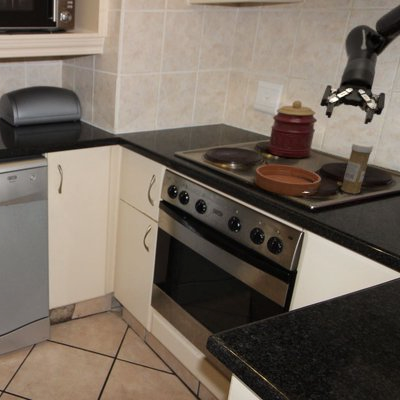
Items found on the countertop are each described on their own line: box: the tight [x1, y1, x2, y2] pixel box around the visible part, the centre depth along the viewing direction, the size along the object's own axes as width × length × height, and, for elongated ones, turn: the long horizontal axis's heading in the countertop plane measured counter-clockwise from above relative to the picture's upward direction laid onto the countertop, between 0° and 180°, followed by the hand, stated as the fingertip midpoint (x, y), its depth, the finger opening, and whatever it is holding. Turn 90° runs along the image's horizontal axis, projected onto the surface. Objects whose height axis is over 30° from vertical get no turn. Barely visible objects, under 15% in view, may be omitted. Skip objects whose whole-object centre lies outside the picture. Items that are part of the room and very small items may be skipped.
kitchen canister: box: [267, 100, 318, 159], centre depth 159 cm, size 13×13×18 cm
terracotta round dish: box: [253, 164, 322, 197], centre depth 133 cm, size 16×16×4 cm
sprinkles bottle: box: [340, 141, 374, 195], centre depth 127 cm, size 5×5×14 cm
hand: (348, 118), depth 125 cm, fingers open, 8 cm apart
